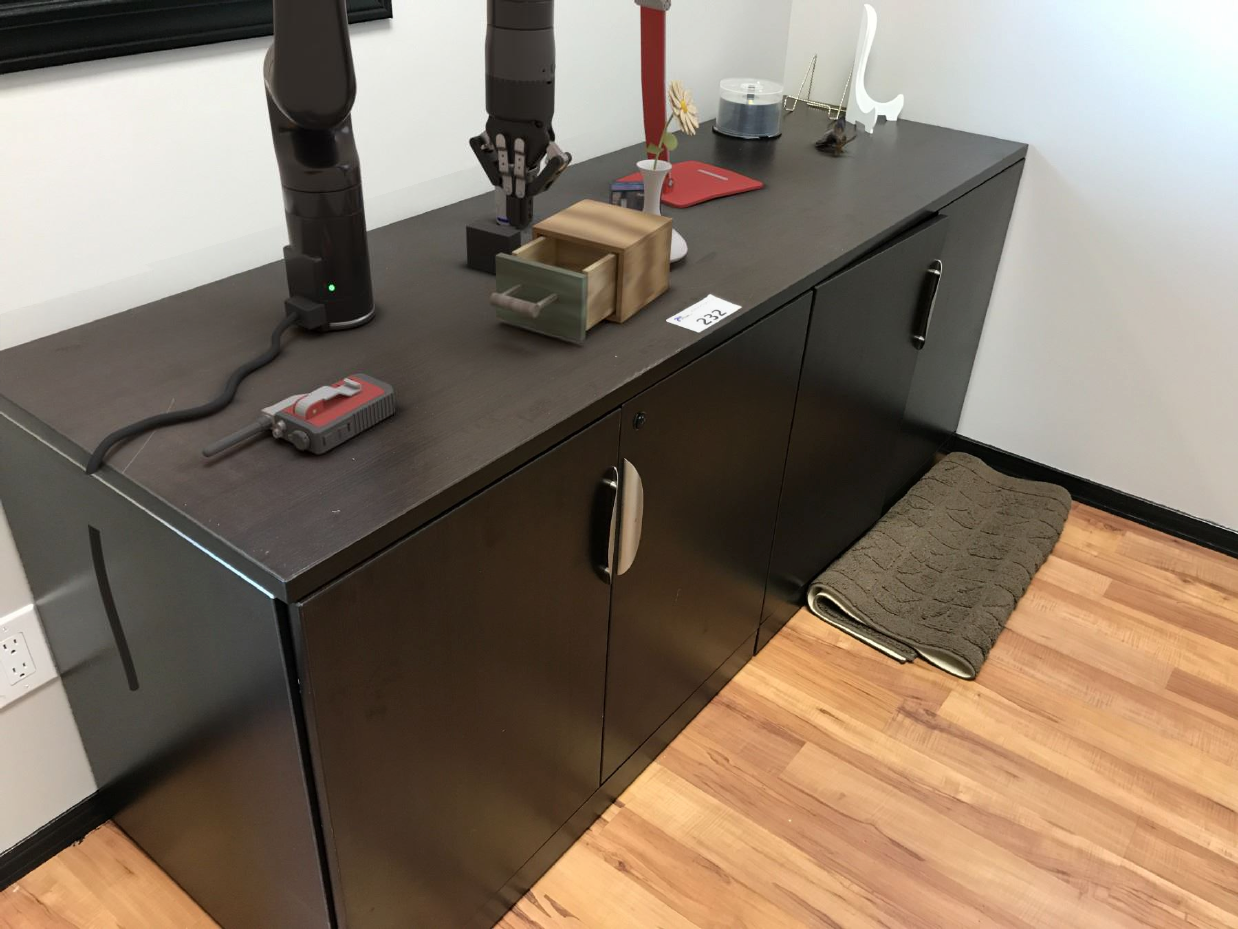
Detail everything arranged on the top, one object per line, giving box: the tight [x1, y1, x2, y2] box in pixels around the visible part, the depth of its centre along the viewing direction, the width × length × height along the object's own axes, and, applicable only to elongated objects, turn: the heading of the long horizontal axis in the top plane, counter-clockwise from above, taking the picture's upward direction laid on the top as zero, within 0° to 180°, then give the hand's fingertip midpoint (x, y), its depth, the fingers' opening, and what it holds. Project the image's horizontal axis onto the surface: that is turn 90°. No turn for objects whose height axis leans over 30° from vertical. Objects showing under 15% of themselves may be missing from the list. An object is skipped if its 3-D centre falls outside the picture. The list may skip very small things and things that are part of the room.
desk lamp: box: [616, 0, 764, 209], centre depth 170 cm, size 18×38×40 cm, turn 133°
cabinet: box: [531, 198, 674, 324], centre depth 134 cm, size 14×14×10 cm
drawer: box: [489, 235, 619, 342], centre depth 125 cm, size 18×12×8 cm
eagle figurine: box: [815, 114, 858, 158], centre depth 200 cm, size 8×7×9 cm
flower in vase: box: [636, 78, 700, 264], centre depth 142 cm, size 13×11×25 cm
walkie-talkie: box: [201, 372, 396, 458], centre depth 102 cm, size 9×4×20 cm
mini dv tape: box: [608, 180, 662, 213], centre depth 161 cm, size 8×2×6 cm, turn 101°
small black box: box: [465, 220, 522, 275], centre depth 141 cm, size 3×7×6 cm, turn 61°
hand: (519, 225), depth 117 cm, fingers closed
